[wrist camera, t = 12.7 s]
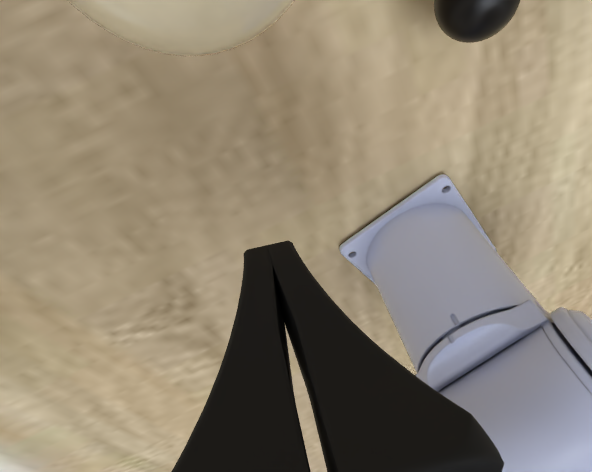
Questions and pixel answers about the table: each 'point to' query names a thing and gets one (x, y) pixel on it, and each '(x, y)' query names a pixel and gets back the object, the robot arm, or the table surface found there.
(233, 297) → the table surface
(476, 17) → the switch lever
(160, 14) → the globe lamp
